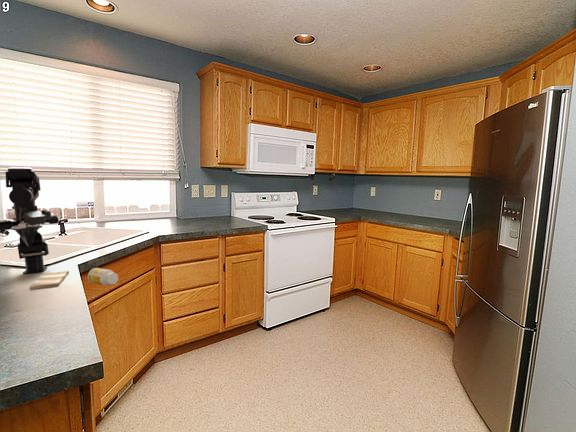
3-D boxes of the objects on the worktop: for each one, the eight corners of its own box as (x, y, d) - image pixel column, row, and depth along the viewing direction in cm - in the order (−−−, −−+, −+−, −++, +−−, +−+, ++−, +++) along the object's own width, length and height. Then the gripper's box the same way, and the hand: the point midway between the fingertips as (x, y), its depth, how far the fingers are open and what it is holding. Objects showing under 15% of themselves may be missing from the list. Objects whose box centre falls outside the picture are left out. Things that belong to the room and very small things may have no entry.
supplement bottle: (91, 265, 110) (110, 268, 106) (103, 270, 114) (122, 273, 111) (84, 280, 108) (103, 284, 104) (97, 284, 112) (116, 288, 109)
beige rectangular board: (44, 275, 120) (43, 273, 119) (68, 272, 123) (68, 270, 123) (30, 289, 105) (29, 286, 105) (58, 285, 108) (58, 283, 108)
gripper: (3, 206, 99) (9, 254, 101) (65, 201, 116) (69, 242, 118) (-15, 205, 103) (-8, 251, 105) (48, 200, 120) (52, 240, 122)
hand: (29, 246), depth 112 cm, fingers closed
